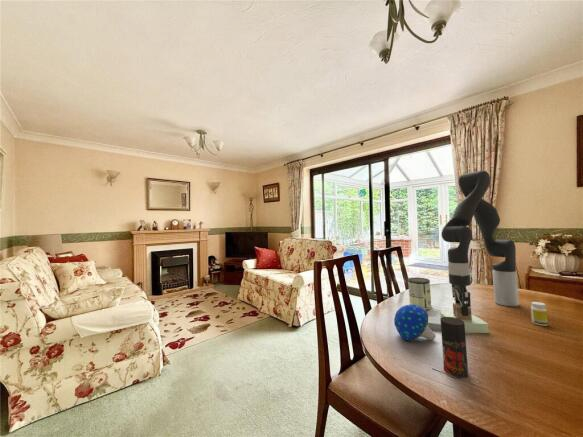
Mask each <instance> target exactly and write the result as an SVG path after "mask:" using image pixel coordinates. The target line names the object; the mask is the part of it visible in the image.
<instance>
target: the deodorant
mask: <svg viewBox="0 0 583 437" xmlns="http://www.w3.org/2000/svg"><path fill="white" fill-rule="evenodd" d="M440 320H441V331H440V332H441V345H442V346H441V348H442V360H443V361H442V362H443V363H442V364H443V370H444V372H445V373H446V374H448V375H449V376H451V377H453V378H456V379H467V378H468V377H469V369H468V367H469V366H468V352H467V339H466V338H467V337H466V333H465V323H464V321H462V320H461V319H458V318H454V317H442V318H441V319H440Z"/></svg>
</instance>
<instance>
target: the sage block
mask: <svg viewBox="0 0 583 437" xmlns="http://www.w3.org/2000/svg"><path fill="white" fill-rule="evenodd" d="M471 315H472V320H462V319H461V320H462V321H464V323H465V334H467V333H470V334H471V333H472V334H473V333H474V334H475V333H477V334H478V333H479V334H488V333H489V323H487V322H486V321H484V319H483V320H482V319H481V318H479V317H477V316H476V315H475V314H472V313H471ZM439 316H440V317H439V318H442V317H454V318H456V317H455V316H454V314H453V311H439Z"/></svg>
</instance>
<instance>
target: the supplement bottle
mask: <svg viewBox="0 0 583 437" xmlns="http://www.w3.org/2000/svg"><path fill="white" fill-rule="evenodd" d="M548 315H549V314H548V310H547V308H546V304H545V303H544V302H540V301H531V306H530V316H531V319H530V320H531V322H532V324H535V325H537V326H545V327H547V326H549V317H548Z"/></svg>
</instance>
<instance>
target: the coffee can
mask: <svg viewBox="0 0 583 437" xmlns="http://www.w3.org/2000/svg"><path fill="white" fill-rule="evenodd" d="M407 281H408V282H407V283H408V297H409V305H417V306H420V307H422V308H423V309H424V310H425V311H426V310H430V309H433V308H432V297H431V295H432V294H431V285H430V284H431V283H430V282H431V280H430V279H429V278H425V277H419V276H418V277H415V276H414V277H408V278H407Z"/></svg>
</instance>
